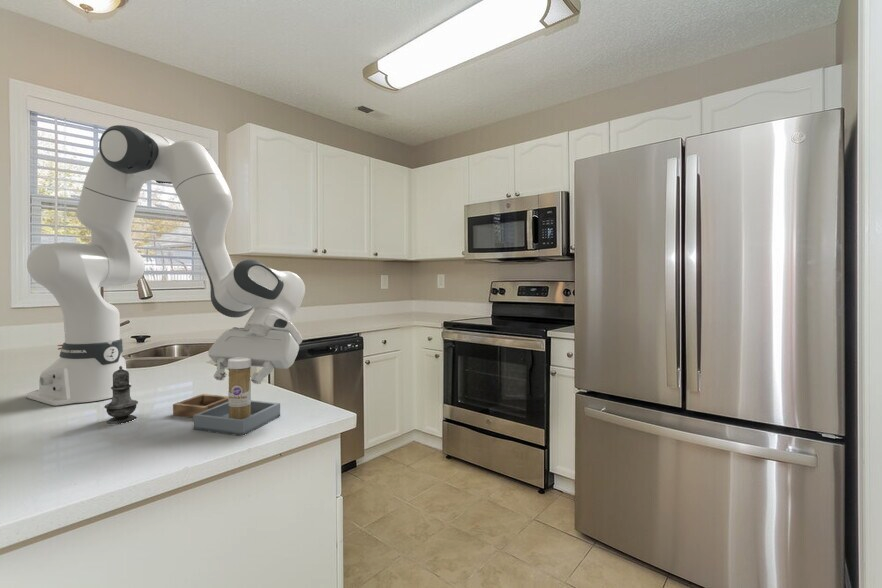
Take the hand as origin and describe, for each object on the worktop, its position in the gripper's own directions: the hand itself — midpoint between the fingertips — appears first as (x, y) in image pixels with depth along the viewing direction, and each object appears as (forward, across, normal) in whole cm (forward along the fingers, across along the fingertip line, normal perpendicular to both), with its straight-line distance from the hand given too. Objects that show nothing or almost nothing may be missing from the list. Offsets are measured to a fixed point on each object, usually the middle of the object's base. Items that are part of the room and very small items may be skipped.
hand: (236, 380), depth 91 cm
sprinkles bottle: (+6, 0, +7) cm, 9 cm away
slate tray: (+6, 0, +7) cm, 9 cm away
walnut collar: (+3, -13, +10) cm, 17 cm away
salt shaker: (+11, -25, +3) cm, 27 cm away
